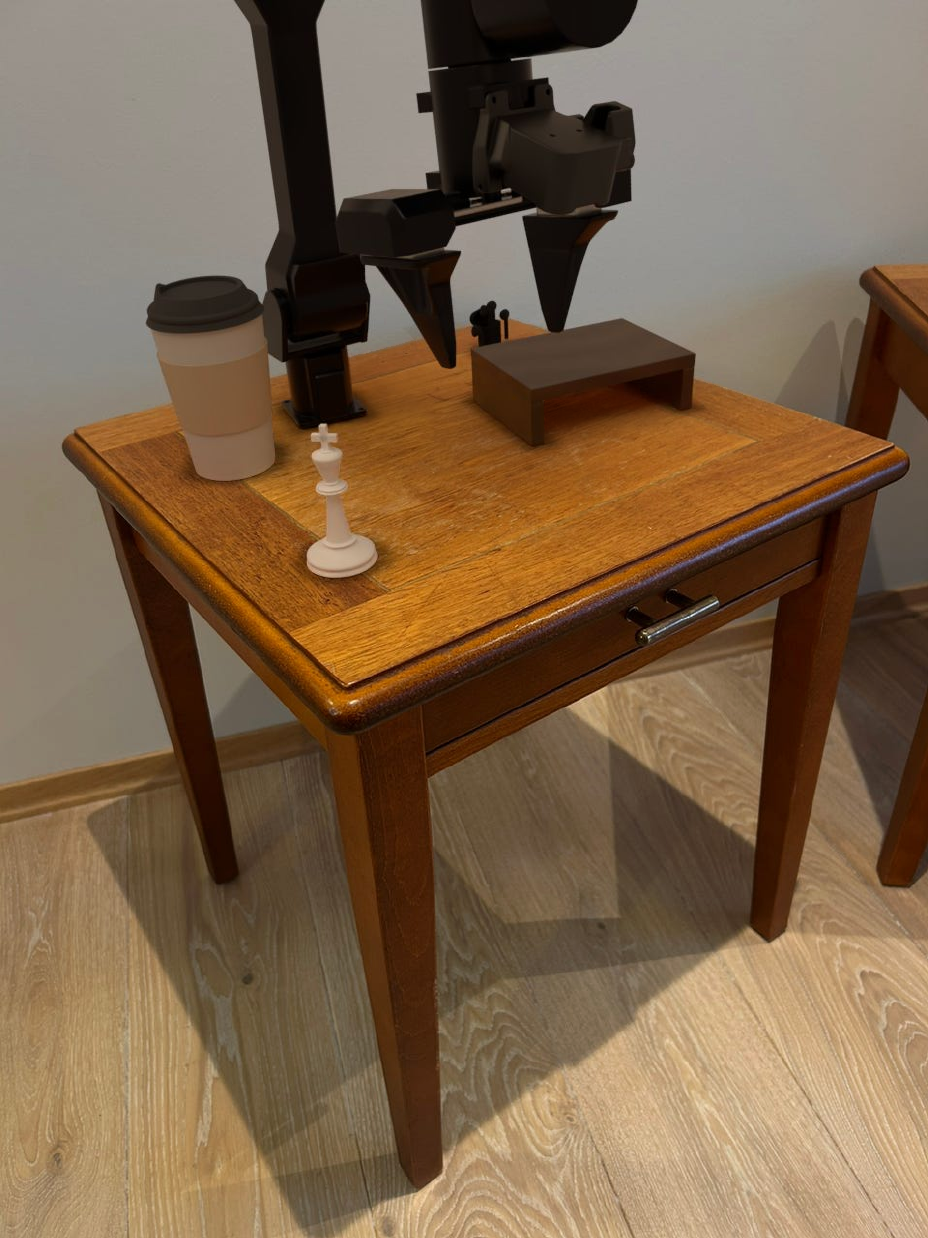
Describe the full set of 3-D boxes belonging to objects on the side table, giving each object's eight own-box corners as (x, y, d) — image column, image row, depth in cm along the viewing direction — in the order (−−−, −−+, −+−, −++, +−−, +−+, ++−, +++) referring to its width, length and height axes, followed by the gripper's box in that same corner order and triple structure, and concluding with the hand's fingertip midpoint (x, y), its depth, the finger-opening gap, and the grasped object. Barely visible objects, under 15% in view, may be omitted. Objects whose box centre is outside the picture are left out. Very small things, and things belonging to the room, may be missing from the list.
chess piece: (366, 580, 65) (348, 442, 59) (297, 576, 66) (272, 439, 60) (385, 543, 69) (370, 411, 63) (320, 540, 70) (299, 409, 64)
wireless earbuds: (478, 362, 99) (476, 313, 96) (458, 359, 100) (455, 310, 97) (513, 342, 104) (512, 294, 101) (493, 339, 105) (491, 291, 102)
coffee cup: (288, 435, 86) (259, 261, 78) (290, 478, 79) (258, 291, 70) (185, 447, 85) (144, 272, 77) (177, 492, 78) (131, 304, 69)
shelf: (473, 400, 91) (470, 348, 88) (620, 368, 95) (622, 317, 93) (531, 446, 81) (531, 389, 78) (691, 408, 86) (696, 353, 83)
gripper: (443, 67, 43) (478, 411, 50) (705, 36, 52) (701, 327, 60) (307, 85, 50) (355, 381, 58) (558, 55, 60) (571, 311, 68)
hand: (504, 349), depth 61 cm, fingers open, 9 cm apart
